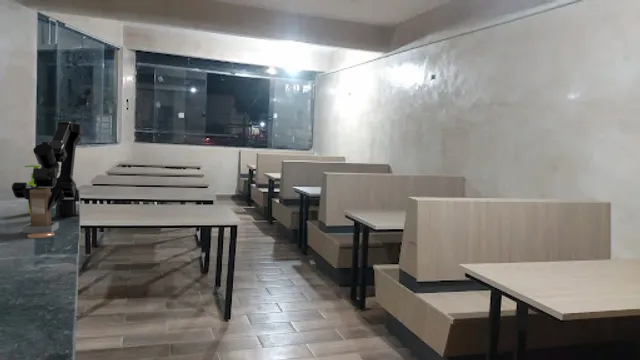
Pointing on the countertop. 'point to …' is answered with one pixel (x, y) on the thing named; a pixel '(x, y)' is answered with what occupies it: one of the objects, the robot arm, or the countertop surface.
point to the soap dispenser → (31, 180)
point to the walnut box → (40, 207)
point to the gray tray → (40, 228)
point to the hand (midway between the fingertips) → (39, 209)
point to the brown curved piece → (40, 234)
